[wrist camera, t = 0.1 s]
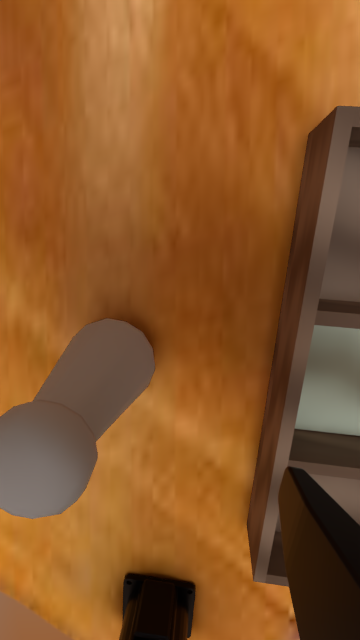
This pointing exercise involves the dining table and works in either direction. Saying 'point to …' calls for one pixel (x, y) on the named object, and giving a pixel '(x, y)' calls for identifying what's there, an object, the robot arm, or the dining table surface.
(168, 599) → the robot arm
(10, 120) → the dining table surface
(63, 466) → the salt shaker
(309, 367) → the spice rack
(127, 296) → the dining table surface
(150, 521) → the dining table surface
